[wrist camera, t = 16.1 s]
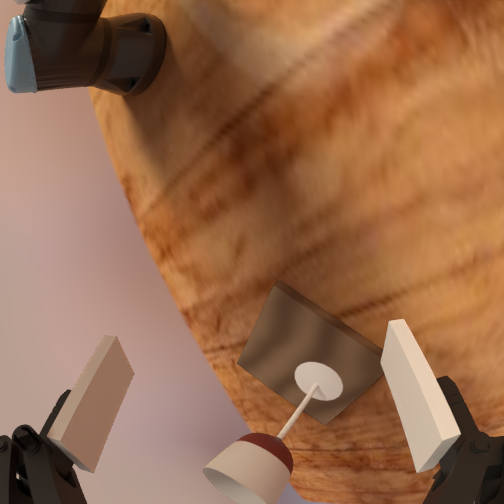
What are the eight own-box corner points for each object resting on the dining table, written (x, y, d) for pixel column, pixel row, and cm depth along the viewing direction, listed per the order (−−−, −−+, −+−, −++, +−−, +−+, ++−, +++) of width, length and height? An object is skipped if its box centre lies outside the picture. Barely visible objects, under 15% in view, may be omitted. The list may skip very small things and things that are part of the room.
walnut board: (241, 358, 49) (236, 363, 47) (279, 280, 39) (273, 285, 38) (328, 419, 42) (324, 425, 41) (394, 357, 33) (392, 364, 31)
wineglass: (318, 350, 37) (224, 468, 22) (356, 394, 36) (284, 515, 20) (281, 369, 42) (192, 466, 27) (317, 408, 41) (243, 509, 25)
